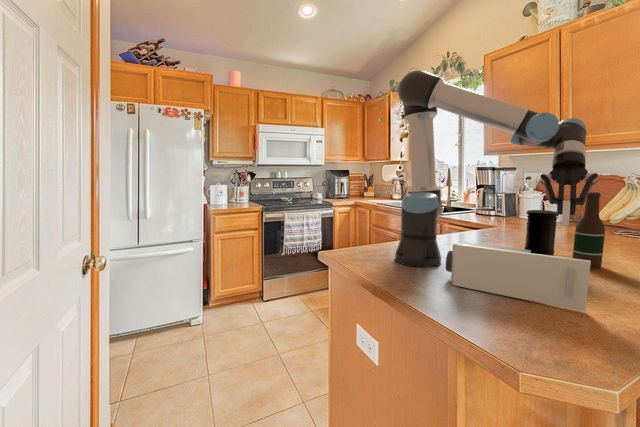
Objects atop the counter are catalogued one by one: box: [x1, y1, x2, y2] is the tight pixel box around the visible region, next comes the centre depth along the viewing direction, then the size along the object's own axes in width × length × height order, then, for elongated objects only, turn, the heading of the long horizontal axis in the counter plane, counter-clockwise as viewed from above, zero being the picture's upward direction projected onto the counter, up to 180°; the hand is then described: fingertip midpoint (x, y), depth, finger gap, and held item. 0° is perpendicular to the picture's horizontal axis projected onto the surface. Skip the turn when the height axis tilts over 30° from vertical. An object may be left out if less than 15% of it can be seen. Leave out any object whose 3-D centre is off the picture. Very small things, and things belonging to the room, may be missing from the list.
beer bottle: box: [572, 191, 606, 270], centre depth 100 cm, size 8×8×24 cm
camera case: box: [445, 242, 531, 273], centre depth 83 cm, size 19×10×10 cm, turn 52°
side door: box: [450, 243, 591, 313], centre depth 74 cm, size 28×2×11 cm, turn 52°
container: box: [523, 209, 560, 256], centre depth 101 cm, size 9×9×18 cm
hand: (565, 222), depth 80 cm, fingers closed
